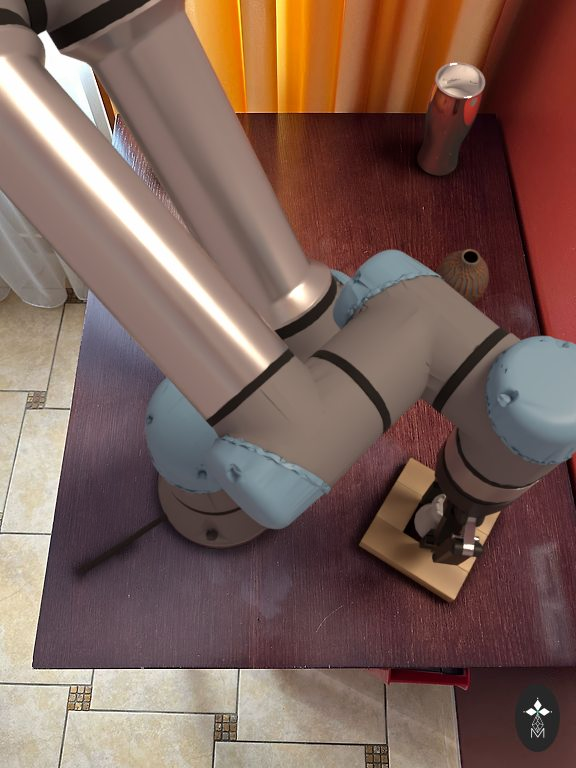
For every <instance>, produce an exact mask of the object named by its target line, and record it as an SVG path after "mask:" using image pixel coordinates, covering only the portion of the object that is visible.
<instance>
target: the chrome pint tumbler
mask: <svg viewBox="0 0 576 768" xmlns="http://www.w3.org/2000/svg"><path fill="white" fill-rule="evenodd" d="M485 86H486V78H485V76H484V74H483V72H481V70H480V69H478V67H476V66H475V65H472V64H469V63H466V62H461V61H460V62H459V61H457V62H456V61H455V62H450V63H447V64H444V65H442V66H441V67H440V68H439V69H438V70H437V72H436V73H435V77H434V80H433V83H432V86H431V89H430V92H429V96H428V99H427V104H426V109H425V110H426V111H425V127H424V128H425V129H424V140H423V143H422V144H421V146H420V149H419V151H418V153H417V156H416V161H417V164H418V166H419V168H420V169H421V170H422V171H424V172H425V173H427V174H430V175H432V176H440V177H441V176H446V175H449V174H451V173H452V172H453V171H454V170H455V169H456V168H457V166H458V162H459V152H460V147H461V145H462V143H463V142H464V140H465V138H466V136H467V135H468V133H469V131H470V130H471V128H472V126H473V124H474V122H475V120H476V117H477V115H478V112H479V109H480V106H481V102H482V99H483V93H484V89H485Z"/></svg>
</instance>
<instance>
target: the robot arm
mask: <svg viewBox="0 0 576 768" xmlns="http://www.w3.org/2000/svg"><path fill="white" fill-rule="evenodd" d="M44 32H46V33H47V35H48V36H49V38H50V39H51V41H52V43H53V44H54V46H55V48H56V49H57V51H58V52H59V54H60V55H63V56H66V57H68V58H71V59H74V60H77V61H80V62H82V63H85V64H87V65H88V66H89V67H90V68H91V69H92V71H93V73H94V74H95V76H96V78H97V79H98V81H99V84H101V86H102V88H103V90H104V91H105V93H106V95H107V97H108V99H109V100H110V101H111V103H112V105H113V106H114V108H115V110H116V111H117V113H118V115H119V116H120V118H121V120H122V122H123V123H124V125H125V126H126V128H127V130H128V132H129V133H130V135H131V136H132V138H133V140H134V142H135V143H136V145H137V147H138V149H139V150H140V152H141V154H142V155H143V157H144V159H145V161H146V162H147V163H148V165H149V167H150V169H151V171H152V172H153V174H154V175H155V177H156V178H157V180H158V182H159V184H160V186H161V187H162V189H163V190H164V193H165V194H166V196H167V197H168V199H169V201H170V202H171V204H172V206H173V207H174V209H175V211H176V212H177V214H178V216H179V217H180V219H181V221H182V222H183V224H184V225H183V224H182V223H181V222H180V221H179V220H178V218H176V216H175V215H174V214H173V213H172V212H171V211H170V209H169V208H168V207H167V206H166V204H165V203H164V202H162V200H161V199H160V198H159V196H158V195H156V193H155V192H154V191H153V189H152V188H150V186H149V185H148V184H147V183H146V182H145V181H144V179H143V178H142V177H141V175H139V174H138V172H137V171H136V170H135V169H134V168H133V167H132V165H131V164H130V163H129V162H128V161H127V160H126V159H125V157H124V156H123V155H122V154H121V153H120V152H119V151H118V150H117V148H116V147H115V146H114V145H113V144H112V143H111V142H110V140H109V139H108V138H107V136H105V135H104V134H103V132H102V131H101V130H100V128H98V126H96V124H95V123H94V122H93V121H92V120H91V118H90V117H89V116H88V115H87V114H86V112H84V110H83V109H82V108H81V107H80V106H79V104H77V102H76V101H75V100H74V99H73V98H72V97H71V95H69V93H68V92H67V91H66V90H65V89H64V88H63V86H62V85H61V84H60V83H59V82H58V80H57V79H56V78H55V77H54V76H53V75H52V73H50V71H49V70H48V69H47V68H46V58H47V57H46V55H47V54H46V48H45V44H44V43H43V41H42V39H41V38H40V36H39V35H40V34H42V33H44ZM232 105H233V104H232V103H231V101H230V99H229V97H228V95H227V93H226V91H225V89H224V86H223V85H222V83H221V81H220V79H219V77H218V75H217V73H216V70H215V69H214V67H213V65H212V62H211V60H210V59H209V57H208V54H207V52H206V51H205V49H204V46H203V44H202V42H201V40H200V38H199V36H198V34H197V32H196V30H195V28H194V25H193V24H192V22H191V20H190V18H189V16H188V14H187V11H186V0H0V191H1V192H2V194H3V195H4V196H5V197H6V198H7V199H8V200H9V201H10V202H11V204H12V205H13V206H14V207H15V208H16V209H17V210H18V212H19V213H20V214H21V215H22V216H23V217H24V218H25V219H26V220H27V222H29V224H30V225H31V226H32V227H33V228H34V229H35V230H36V232H37V233H38V234H39V235H40V236H41V237H42V239H44V241H45V242H46V243H47V244H48V245H49V247H51V248H52V250H53V251H54V252H55V253H56V254H57V255H58V257H59V258H60V259H61V260H62V261H63V262H64V263H65V264H66V265H67V267H69V269H70V270H71V272H73V273H74V274H75V276H76V277H77V278H78V280H79V281H81V283H83V285H84V286H85V287H86V288H87V289H88V290H89V291H90V292H91V293H92V295H93V296H94V297H95V298H96V299H97V300H98V302H99V303H100V304H101V305H102V306H103V307H104V308H105V309H106V310H107V312H108V313H109V314H110V315H111V316H112V317H113V319H114V320H116V321H117V323H118V324H119V325H120V326H121V328H123V329H124V331H125V332H126V333H127V334H128V335H129V336H130V337H131V339H132V340H133V341H134V342H135V343H136V344H137V345H138V346H139V348H140V349H141V350H142V351H143V352H144V353H145V354H146V355H147V357H148V358H149V359H150V360H151V361H152V362H153V363H154V365H156V367H157V368H158V369H159V370H160V371H161V372H162V374H163V375H165V378H164V379H162V381H161V382H160V383H159V384H158V385H157V387H156V388H155V389H154V392H153V393H152V395H151V397H150V399H149V402H148V405H147V408H146V411H145V412H146V413H145V418H144V432H145V439H146V446H147V450H148V454H149V458H150V459H151V462H152V465H153V466H154V469H155V470H156V471H157V472H158V473H159V474H158V480H157V492H158V498H159V503H160V505H161V506H160V507H161V508H162V511H163V513H162V514H161V515H159V516H158V517H156V518H155V519H153V520H152V521H150V522H148V523H147V524H146V525H144V526H143V527H142V528H140V529H138V530H137V531H135V532H133V533H132V534H131V535H130V536H128V537H126V538H125V539H124V540H122V541H121V542H119V543H117V544H116V545H115V546H112V547H111V548H110V549H108V550H107V551H105V552H104V553H102V554H101V555H98V556H96V557H95V558H93V559H91V560H90V561H88V562H87V563H85V564H83V565H82V566H80V567H79V568H77V569H76V570H77V573H78V574H79V575H80V576H81V575H83V574H84V573H86V572H88V571H90V570H91V569H93V568H94V567H97V566H98V565H100V564H102V563H103V562H104V561H106V560H108V559H109V558H111V557H112V556H114V555H116V554H117V553H119V552H121V551H122V550H123V549H125V548H126V547H128V546H129V545H131V544H132V543H134V542H135V541H136V540H138V539H139V538H141V537H142V536H144V535H145V534H147V533H148V532H150V531H151V530H153V529H154V528H156V527H157V526H159V525H160V524H162V523H163V522H165V521H166V520H168V522H169V523H170V524H171V525H172V527H173V528H174V529H175V530H176V531H177V532H178V533H179V534H180V535H181V536H182V537H183V538H185V539H187V541H188V540H189V541H190V542H193V543H194V544H197V545H199V546H203V547H205V548H211V549H231V548H232V549H233V548H236V547H237V548H238V547H240V546H243V545H246V544H248V543H251V542H252V541H255V540H256V539H258V538H259V537H261V536H262V535H264V533H265V532H267V531H268V530H269V529H272V530H282V529H285V528H287V527H288V526H289V525H291V524H292V523H293V522H294V521H296V519H298V518H299V517H300V516H301V515H302V514H303V513H305V511H307V510H308V509H309V508H310V507H311V506H312V505H313V504H314V503H315V502H317V501H318V500H319V499H320V498H321V497H322V496H327V495H328V494H329V493H330V491H331V489H332V488H333V487H334V486H335V485H336V483H338V481H339V480H340V479H341V478H342V477H343V476H344V475H345V474H346V473H347V472H348V471H349V470H350V469H351V468H352V467H353V466H354V465H355V464H356V463H357V462H358V461H359V460H360V459H361V457H363V456H364V454H366V453H367V451H368V450H369V449H370V448H371V447H372V446H373V445H374V444H375V443H376V442H377V441H379V439H380V438H381V437H382V436H383V435H385V434H386V432H388V431H389V430H390V429H391V427H393V426H394V424H395V423H397V422H398V421H399V420H400V419H401V418H402V417H403V416H404V415H405V414H406V413H407V412H408V411H409V410H410V409H411V408H412V407H413V406H414V405H415V404H416V403H417V402H418V401H419V400H420V399H421V400H422V401H424V402H425V403H426V404H427V405H429V406H430V407H432V408H433V409H434V410H435V411H436V412H437V413H438V414H440V415H442V416H443V417H445V418H446V419H447V420H448V421H449V422H450V423H452V424H453V427H452V429H451V430H450V432H449V434H448V435H447V437H446V439H445V440H444V441H443V443H442V444H441V446H440V448H439V449H438V452H437V454H436V457H435V458H436V461H435V475H434V476H435V480H434V481H433V482H432V484H431V485H430V487H429V488H428V489H427V491H426V492H425V493H424V495H423V496H422V503H424V504H428V503H432V501H433V500H434V499H435V497H437V496H439V495H440V494H445V496H446V498H445V500H444V502H443V516H442V518H441V520H440V522H439V524H438V526H437V528H436V529H432V528H431V529H430V530H429V531H428V532H427V534H426V535H425V536H424V537H423V538H422V537H421V539H420V540H419V543H420V544H419V548H424V549H431V552H432V553H433V554H432V560H433V562H434V563H441V564H448V565H456V566H458V565H460V564H461V563H463V562H464V561H466V560H467V559H469V558H470V557H477V558H479V559H480V558H482V556H483V554H484V548H483V546H482V544H481V543H479V541H480V538H479V536H475V531H476V527H479V526H481V525H482V524H483V522H484V519H485V517H486V516H487V515H491V514H494V513H497V512H499V511H504V510H505V509H508V507H510V506H511V505H512V504H513V503H514V502H515V501H517V500H518V499H519V498H520V497H521V496H523V495H524V493H525V492H527V491H528V490H529V489H530V488H532V487H533V486H534V485H536V484H537V483H538V482H540V480H541V479H543V478H544V477H545V476H546V475H548V474H549V473H550V472H552V471H553V470H554V469H556V468H557V467H558V466H559V465H561V464H562V463H563V462H566V461H568V460H569V459H571V458H572V457H573V455H574V454H575V453H576V344H575V343H574V342H572V341H566V340H563V339H559V338H555V337H553V336H550V335H536V336H531V337H526V338H524V339H520V338H519V337H517V336H516V335H515V334H514V333H512V332H509V331H507V330H506V329H505V328H504V327H500V326H499V325H498V324H496V323H495V322H494V321H493V320H491V319H490V318H489V317H488V316H487V315H486V314H484V313H483V312H482V311H481V310H480V309H478V308H477V307H476V306H474V304H471V303H470V302H469V301H467V300H466V299H465V298H464V297H463V296H461V295H460V294H459V293H458V292H457V291H455V290H454V289H453V288H452V287H451V286H449V285H448V284H447V283H446V282H445V281H444V279H443V278H442V277H441V276H440V275H438V274H436V271H434V270H432V269H430V268H429V267H428V266H426V265H424V264H423V263H422V262H420V261H418V260H417V259H415V258H413V257H411V256H409V255H408V254H406V253H405V252H404V251H401V250H398V249H386V250H382V251H379V252H377V253H376V254H374V255H373V256H370V257H369V258H368V259H367V260H366V261H365V262H363V263H362V264H361V265H360V266H359V267H358V268H357V270H355V271H356V272H355V273H354V275H353V276H352V277H350V276H349V275H347V274H346V273H344V272H343V271H340V270H338V269H333V268H330V267H329V266H328V265H327V264H326V263H325V262H322V261H320V260H317V259H312V258H310V257H309V258H308V257H307V255H306V252H305V251H304V249H303V247H302V244H301V242H300V241H299V239H298V237H297V235H296V233H295V230H294V229H293V226H292V225H291V222H290V220H289V218H288V216H287V215H286V212H285V210H284V209H283V206H282V205H281V202H280V200H279V198H278V196H277V194H276V192H275V190H274V188H273V186H272V184H271V182H270V179H269V178H268V176H267V174H266V172H265V170H264V168H263V166H262V164H261V162H260V160H259V158H258V156H257V154H256V152H255V149H254V148H253V146H252V144H251V142H250V139H249V138H248V136H247V133H246V131H245V129H244V127H243V125H242V124H241V122H240V121H241V120H240V119H239V117H238V115H237V113H236V111H235V109H234V107H233V106H232Z"/></svg>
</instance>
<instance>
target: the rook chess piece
mask: <svg viewBox="0 0 576 768" xmlns="http://www.w3.org/2000/svg"><path fill="white" fill-rule="evenodd" d="M445 498H446V496H445V494H440V495H439V496H437V497H435V499H434V500H433V501H432V503H428V504H426V505H422V506H421V507H420V508H419V509H418V510H417V512H416V513H415V518H414V527H415V528H414V529H415V531H416V532H417V533H418V535H419V536H420V538H421V539H422V538H423V537H424V536H425V535H426V534H427V532H428V531H429V530H430V529H431V528H432V529H436V528H437V526H438V524H439V522H440V520H441V518H442V516H443V502H444V500H445Z"/></svg>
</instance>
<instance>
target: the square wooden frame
mask: <svg viewBox="0 0 576 768" xmlns="http://www.w3.org/2000/svg"><path fill="white" fill-rule="evenodd" d="M435 472H436V470H433V469H432V468H430V467H428V466H426V465H425V464H423V463H421V462H420V461H418V460H417V459H414V458H413V457H410V458H409V459H408V460H407V462H406V464H405V465H404V467H403V469H402V471H401V473H400V474H399V476H398V478H397V479H396V481H395V483H394V484H393V486H392V488H391V489H390V491H389V493H388V494H387V496H386V498H385V499H384V501H383V503H382V504H381V506H380V508H379V509H378V512H376V515H375V516H374V518H373V520H372V521H371V523H370V525H369V527H368V528H367V530H366V532H365V533H364V535H363V537H362V538H361V540H360V542H359V543H358V546H359V547H360V548H362V549H364V550H365V551H367V552H368V553H370V554H371V555H373V556H374V557H376V558H378V559H379V560H380V561H382V562H384V563H386V564H387V565H389V566H390V567H392V568H393V569H395V570H397V572H398V571H399V572H400V573H401V574H403V575H404V576H406V577H407V578H409V579H411V580H412V581H414V582H416V583H418V584H419V585H420V586H422V587H424V588H425V589H426V590H428V591H430V592H431V593H433V594H435V596H438V597H439V598H441V599H442V600H444V601H446V602H448V603H451V602H453V601H455V600H456V598H457V596H458V594H459V592H460V590H461V589H462V587H463V585H464V583H465V580H466V579H467V577H468V575H469V573H470V571H471V569H472V568H473V565H474V563H475V561H476V560H477V558H478V557H470V558H469V559H467V560H466V561H464V562H463V563H461V564H460V565H458V566H456V565H448V564H441V563H434V562H433V560H432V554H433V553H432V552H431V549H424V548H419V544H420V541H417V540H416V539H415V538H413V537H411V536H409V535H408V534H406V533H405V532H404V531H405V529H406V526H407V525H408V524H409V521H410V520H411V518H412V516H413V515H414V513H415V512H416V509H417V508H418V506H419V504H421V505H422V506H424V505H426V504H424V503H422V496H423V495H424V493H425V492H426V491H427V489H428V488H429V487H430V485H431V484H432V482H433V481H434V480H435V476H434V475H435ZM500 513H501V511H499V512H497V513H494V514H491V515H487V516H486V517H485V519H484V522H483V524H482V525H481V526H479V527H476V531H475V536H479V538H480V541H479V543H481V544H482V547H483V546H484V544H485V542H486V541H487V538H488V536H489V535H490V533H491V531H492V529H493V528H494V525H495V523H496V521H497V519H498V517H499V515H500Z"/></svg>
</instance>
